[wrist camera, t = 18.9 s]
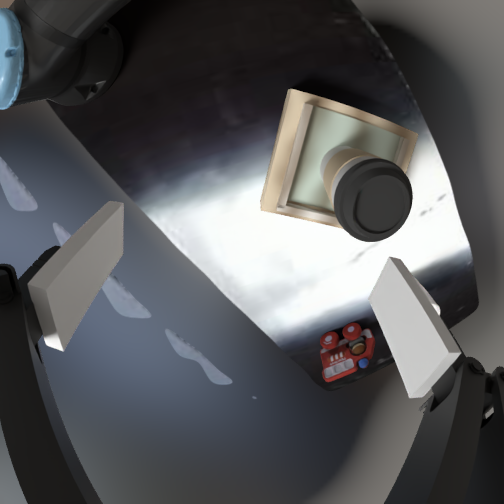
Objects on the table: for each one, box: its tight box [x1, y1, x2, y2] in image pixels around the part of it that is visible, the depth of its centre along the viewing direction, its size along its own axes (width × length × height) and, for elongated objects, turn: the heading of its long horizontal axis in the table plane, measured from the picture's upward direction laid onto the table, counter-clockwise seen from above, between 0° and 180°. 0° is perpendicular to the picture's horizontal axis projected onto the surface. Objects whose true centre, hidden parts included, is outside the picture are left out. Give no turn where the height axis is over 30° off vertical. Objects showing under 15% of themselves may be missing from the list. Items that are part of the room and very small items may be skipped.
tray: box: [260, 89, 418, 229], centre depth 41 cm, size 20×18×6 cm
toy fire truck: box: [320, 323, 375, 382], centre depth 58 cm, size 7×12×10 cm, turn 118°
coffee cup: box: [320, 146, 413, 242], centre depth 33 cm, size 9×9×15 cm
